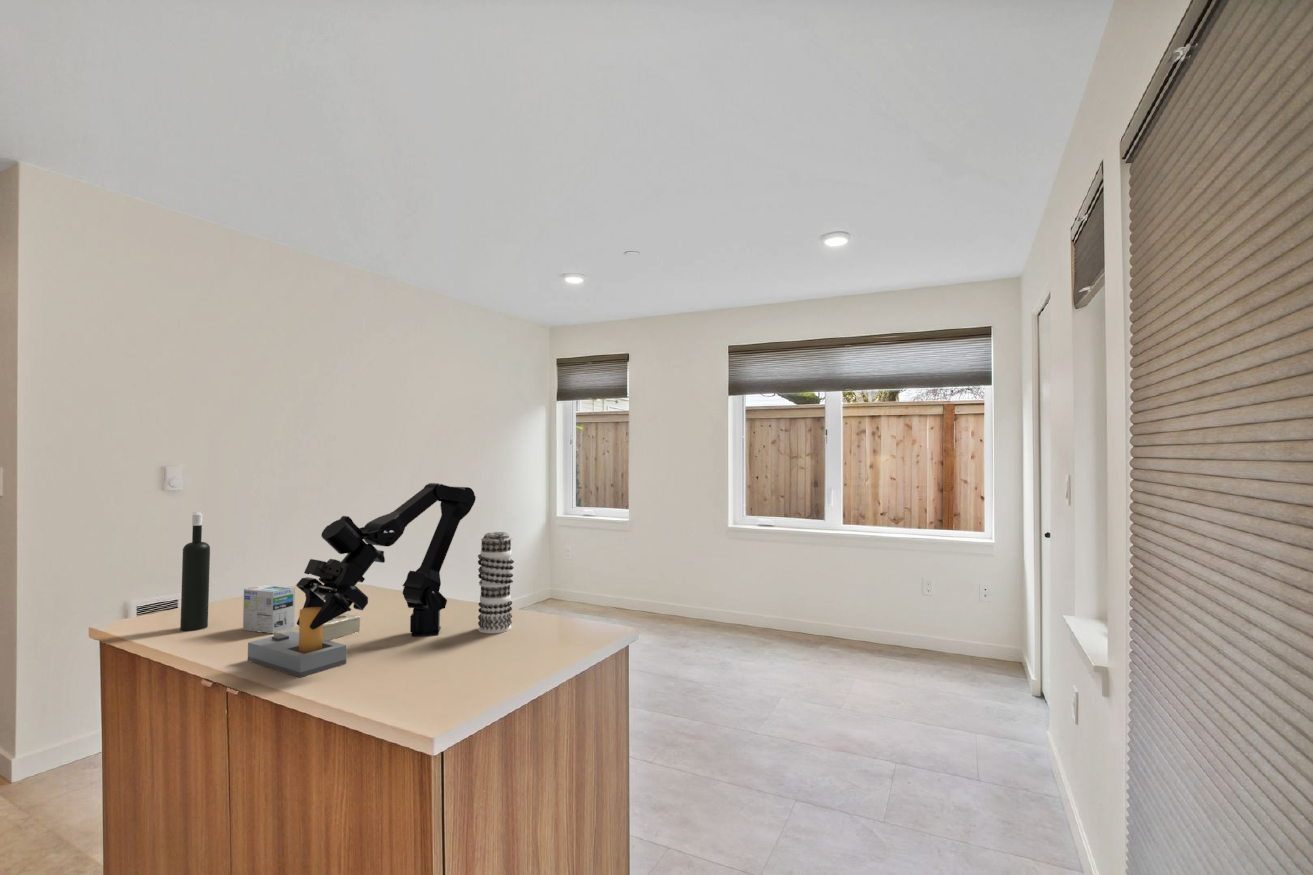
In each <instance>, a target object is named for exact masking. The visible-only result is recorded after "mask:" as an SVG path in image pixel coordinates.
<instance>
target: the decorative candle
mask: <svg viewBox="0 0 1313 875" xmlns="http://www.w3.org/2000/svg"><path fill="white" fill-rule="evenodd" d="M480 540H481V549H480V554H478V555H477V557H478V559H479V560H477V564H478V566H479V568H478V569H477V570H478V573H479V574H477V576H478V579H480V580H479V582H478V585H479V586H480V595H479V602H478V603H477V604H478V607H480V608H478V610H477V611H478V613H479V615H478V616H477V618H478V620H479V621H478V623H477V624H478V626H479V627H478V628H477V629H478V632H480V633H483V634H502V633H506V632H508V631H510V630H512V625H511V624H512V623H513V621H512V617H513V615H512V613H511V612H512V610H513V607H512V606H511V605H512V604H513V602H512V595H511V585H512V584H513V582H514V580H513V579H512V578H513V576H514V574H513V573H512V572H511V571H512V570H513V569H514V566H513V564H514V563H515V561H514V560H513V559H511V556H512V554H513V553H512V552H513V551H512V549H511V545H512V540H513V538H512V537H511V536H510V535H509V534H508V533H507V532H504V531H499V532H498V531H492V532H491V531H490V532H486V533H485V534H484V535H483V538H480Z"/></svg>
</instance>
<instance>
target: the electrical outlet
mask: <svg viewBox="0 0 1313 875" xmlns="http://www.w3.org/2000/svg"><path fill="white" fill-rule="evenodd" d="M359 631H361V616H360V615H357V614H356V615H355V614H349V613H346V612H345V613H343V614H341V615H339V616H337V617H335V618H333V619H332V620H330V621H328V622H326V623H324V624H323V633H322V639H324V640H328V641H331V640H334V639H339V638H342V637H341V636H343V637H346V636H350V635H353V633H354V634H356V633H355V632H358V633H360V632H359ZM290 632H297V633H299V625H297V626H295V627H293V628H289V629H285V630H280V631H276V632H274V633H273V636H277V635H281V634H286V633H290ZM338 637H339V638H338Z"/></svg>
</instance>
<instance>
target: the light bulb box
mask: <svg viewBox="0 0 1313 875" xmlns="http://www.w3.org/2000/svg"><path fill="white" fill-rule="evenodd" d="M242 612H243V613H242V615H243V617H242V618H243V619H242V631H247V632H255V631H260V632H259V633H262V632H267V633H266V634H270V633H273V634H274V632H276V631H280V630H285V629H289V628H292V627H296V624H295V622H296V620H295V619H296V617H295V616H296V615H295V614H296V613H295V612H296V587H295V586H285V585H284V586H283V585H273V584H271V585H270V584H262V585H257V586H253V587H246V588H243V610H242Z"/></svg>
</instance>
